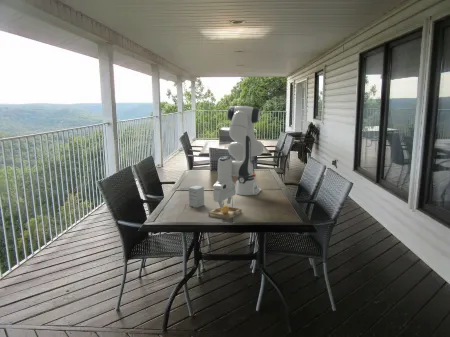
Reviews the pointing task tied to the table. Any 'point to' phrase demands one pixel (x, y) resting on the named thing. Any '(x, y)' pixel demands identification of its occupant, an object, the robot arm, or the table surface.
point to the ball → (225, 209)
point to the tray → (227, 216)
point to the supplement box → (196, 196)
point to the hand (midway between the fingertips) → (225, 205)
